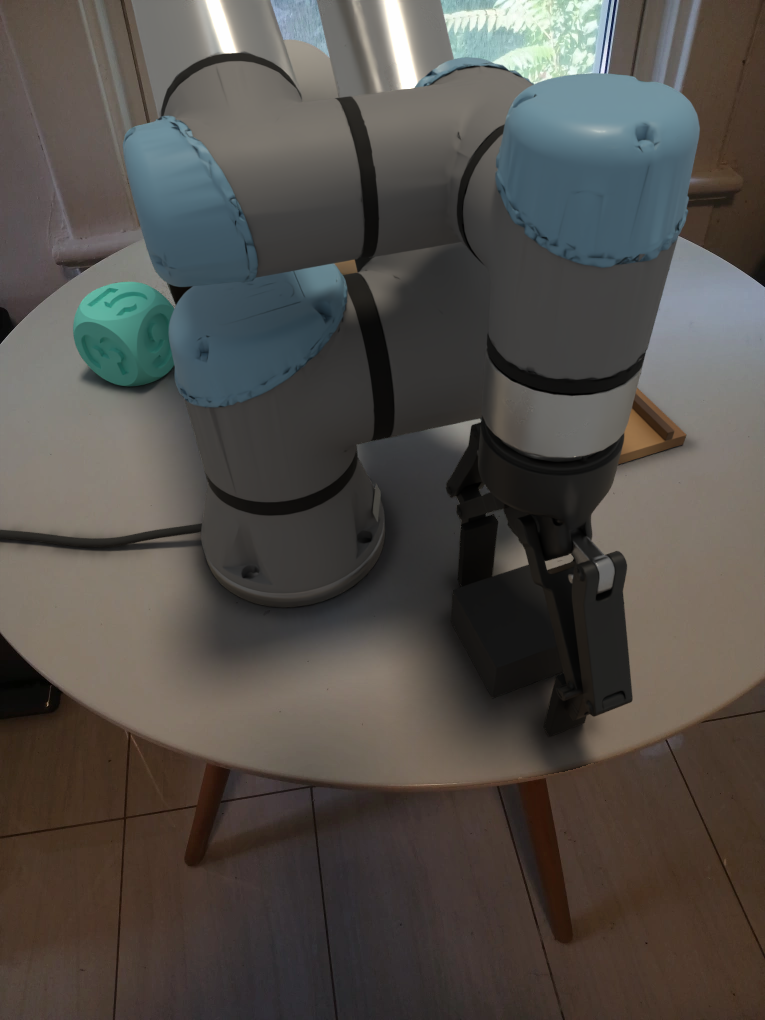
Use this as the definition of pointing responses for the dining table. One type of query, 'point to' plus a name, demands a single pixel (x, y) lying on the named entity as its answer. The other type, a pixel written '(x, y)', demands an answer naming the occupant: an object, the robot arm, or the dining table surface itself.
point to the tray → (648, 430)
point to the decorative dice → (125, 333)
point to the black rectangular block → (506, 630)
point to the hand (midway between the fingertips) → (515, 646)
